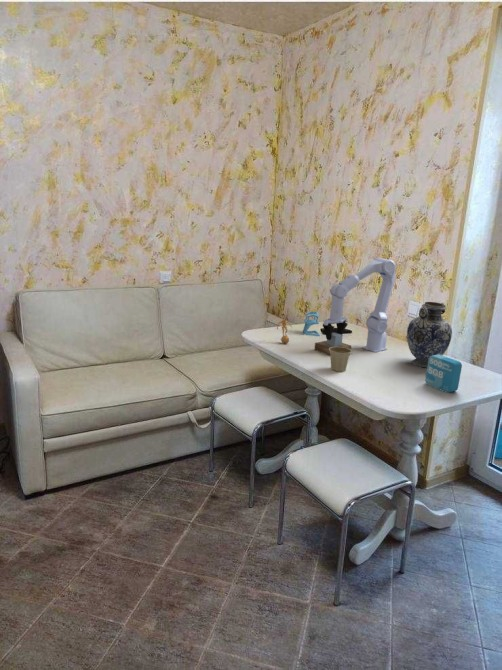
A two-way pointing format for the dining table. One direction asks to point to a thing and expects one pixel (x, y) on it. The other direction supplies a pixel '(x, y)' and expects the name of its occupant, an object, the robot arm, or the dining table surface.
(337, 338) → the slate cube
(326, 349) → the walnut base block
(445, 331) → the decorative vase
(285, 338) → the figurine
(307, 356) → the dining table surface
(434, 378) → the data package
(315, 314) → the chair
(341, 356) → the flower pot
